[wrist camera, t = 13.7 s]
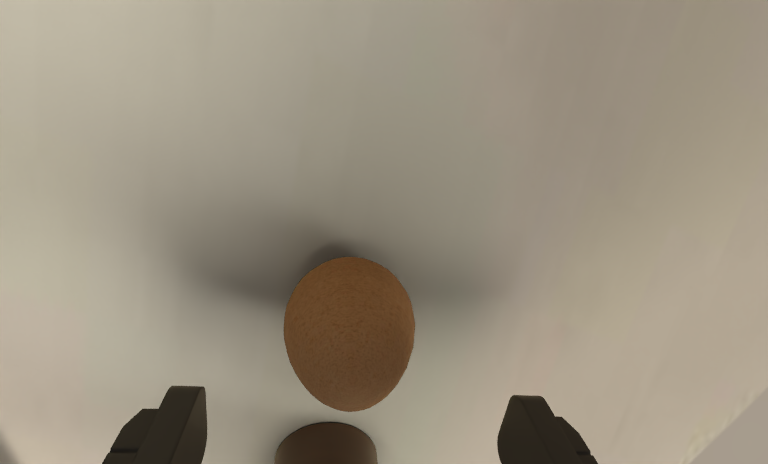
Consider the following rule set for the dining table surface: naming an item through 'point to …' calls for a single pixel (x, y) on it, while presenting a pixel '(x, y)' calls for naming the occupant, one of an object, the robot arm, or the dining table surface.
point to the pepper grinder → (327, 446)
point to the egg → (349, 332)
